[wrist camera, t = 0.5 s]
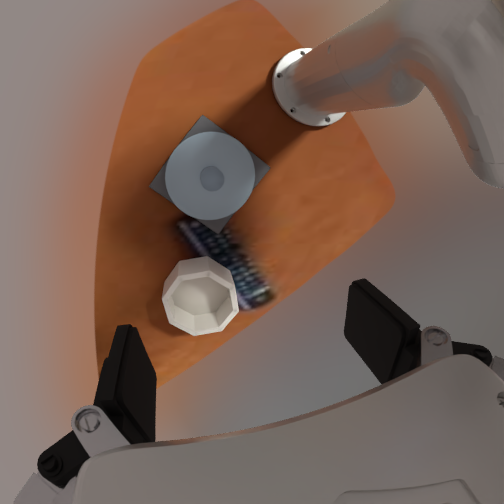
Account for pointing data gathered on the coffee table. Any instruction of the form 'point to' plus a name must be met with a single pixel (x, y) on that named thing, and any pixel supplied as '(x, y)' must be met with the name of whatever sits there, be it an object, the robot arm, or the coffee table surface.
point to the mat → (199, 127)
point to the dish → (200, 296)
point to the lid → (210, 175)
